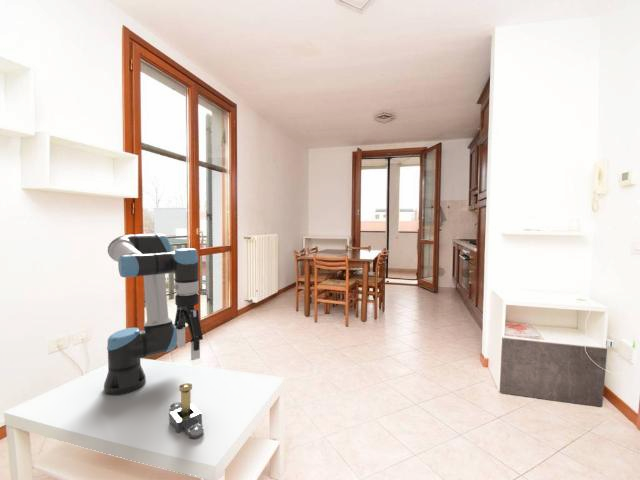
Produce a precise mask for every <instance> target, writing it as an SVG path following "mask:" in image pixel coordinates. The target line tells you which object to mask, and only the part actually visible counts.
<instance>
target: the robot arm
mask: <svg viewBox="0 0 640 480" xmlns="http://www.w3.org/2000/svg"><path fill="white" fill-rule="evenodd" d="M198 252H199V251H198V250H197V249H196V248H189V247H188V248H187V247H186V248H177V249H175V251H172V249H171V243H170V240H169V238H168V237H167V236H166V235H165V234H163V233H138V234H137V233H136V234H132V233H131V234H130V233H129V234H124V235H120V236H118V237H116V238H114V239H113V240H111V241H110V242H109V244H108V246H107V254H108V256H109V257H110V258H111V259H112V260H113V261H115V262H117V263H118V264H117V267H118V268H117V269H118V272H119V276H120V277H121V278H135V277H136V278H137V277H143V282H144V296H145V307H146V309H145V313H146V321H145V323H144V324H143V329H139V328H138V327H127V328H124V329H121V330H118V331H115V332H113V333H112V334H111V335H109V337H108V338H107V345H106V346H107V347H106V349H107V365H108V366H107V367H108V369H107V370H108V371H107V375H106V378H105V381H104V383H103V391H104V393H105V394H107V395H109V396H118V395H125V394H128V393H131V392H134V391H137V390H139V389H140V388H142V387H143V386H144V385H145V384H146V381H147V380H146V377H147V376H146V374H145V372H144V369H143V367H142V364H141V359H143V358H148V357H152V356H156V355H159V354H166V353H167V352H171V351H173V350H174V349H175V348H176V347H177V348H178V349H179V348H183V347H186V328H187V327H188V330H189V334H190V338H191V339H190V341H189V342H190V361H194V360H198V359H200V358H201V348H200V347H201V345H200V344H201V340H203V339H204V338H203V332H202V327H201V320H200V315H199V309H196V310H195V306H196V305H199V302H200V301H199V298H200V297H199V293H198V292H199V291H200V289H199V287H200V285H199V283H200V282H199V254H198ZM166 274H174V285H173V289H175V291H174V293H175V295H174V297H175V298H174V300H175V303H174V304H175V305H176V312H175V319H174V323H173V320H172V319H171V318H170V317H169V311H168V308H169V307H168V297H167V286H166ZM186 324H187V327H186Z"/></svg>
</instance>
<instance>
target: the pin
mask: <svg viewBox="0 0 640 480" xmlns="http://www.w3.org/2000/svg"><path fill="white" fill-rule="evenodd" d="M178 389H179V392H180V403H181V418H183V417H186V416H188V415H191V404H192V403H191V390H192V389H193V384H192V383H188V382H185V383H183V384H180V385H179V388H178Z"/></svg>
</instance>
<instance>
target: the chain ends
mask: <svg viewBox="0 0 640 480" xmlns="http://www.w3.org/2000/svg"><path fill="white" fill-rule="evenodd" d="M168 414H169V417H168V418H169V423H170V425H171V426H172V427H173V428H174V430H175V431H176V433H177V434H179V433H182V432H184V434H185V435H186V436H187V437H188V438H189V439H190V440H197V439H200V438H201V437H202V436H203V434H204V433H205V432H204V427H203V425H201V424H202V423H203V418H202V417H203V416H202V411H200V409H198V407H197V406H196V405H195V404H194V403H191V415H188V416H186V417H183V418H181V401H178V402H174V403H172V404H171V405H170V406H169V413H168Z"/></svg>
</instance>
